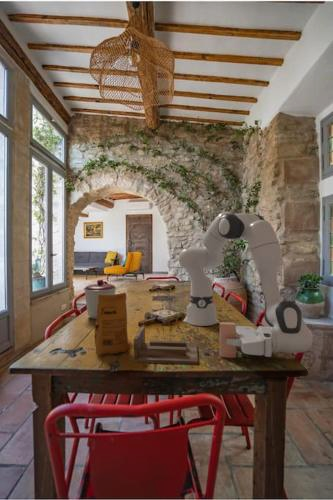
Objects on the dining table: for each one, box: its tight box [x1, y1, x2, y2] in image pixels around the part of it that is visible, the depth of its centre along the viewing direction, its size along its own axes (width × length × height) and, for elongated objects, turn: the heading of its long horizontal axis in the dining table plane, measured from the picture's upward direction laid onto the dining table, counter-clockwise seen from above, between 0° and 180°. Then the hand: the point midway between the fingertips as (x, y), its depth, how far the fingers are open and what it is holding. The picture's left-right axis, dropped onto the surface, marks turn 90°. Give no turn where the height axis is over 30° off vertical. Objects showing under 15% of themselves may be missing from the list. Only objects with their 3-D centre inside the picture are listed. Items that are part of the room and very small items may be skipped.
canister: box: [83, 279, 117, 320], centre depth 156 cm, size 18×18×21 cm
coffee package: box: [94, 292, 129, 356], centre depth 107 cm, size 10×12×22 cm
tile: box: [219, 321, 237, 359], centre depth 101 cm, size 2×6×12 cm, turn 85°
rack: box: [133, 325, 199, 365], centre depth 103 cm, size 16×22×8 cm
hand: (225, 337), depth 101 cm, fingers open, 5 cm apart
